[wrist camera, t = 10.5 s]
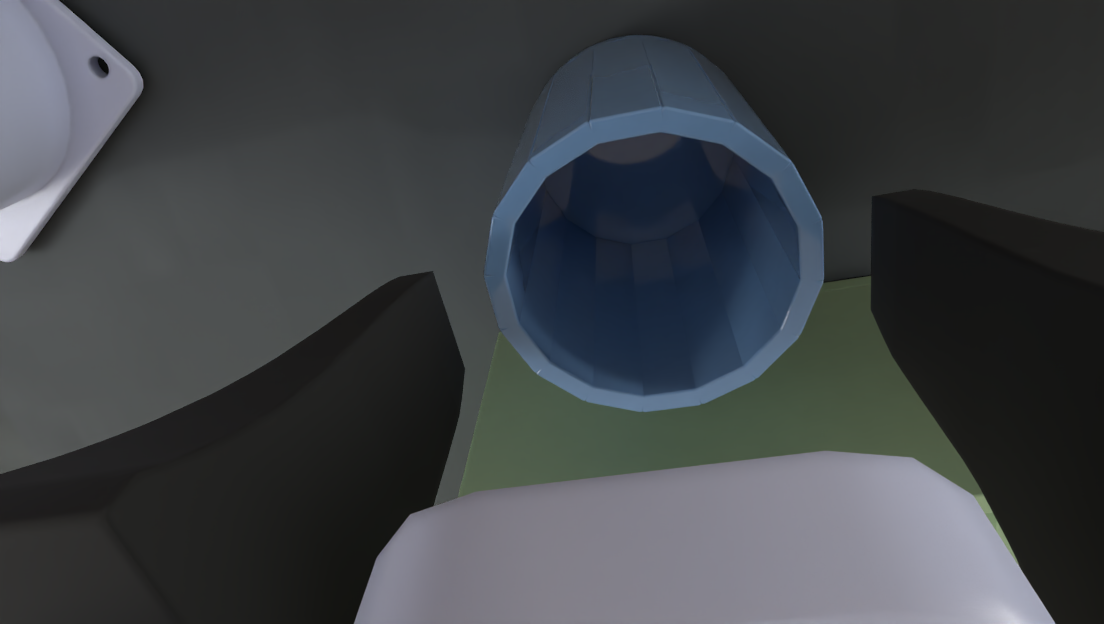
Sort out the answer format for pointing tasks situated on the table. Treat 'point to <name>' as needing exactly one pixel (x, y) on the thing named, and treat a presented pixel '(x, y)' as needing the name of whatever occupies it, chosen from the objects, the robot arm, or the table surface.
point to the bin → (720, 413)
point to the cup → (651, 232)
